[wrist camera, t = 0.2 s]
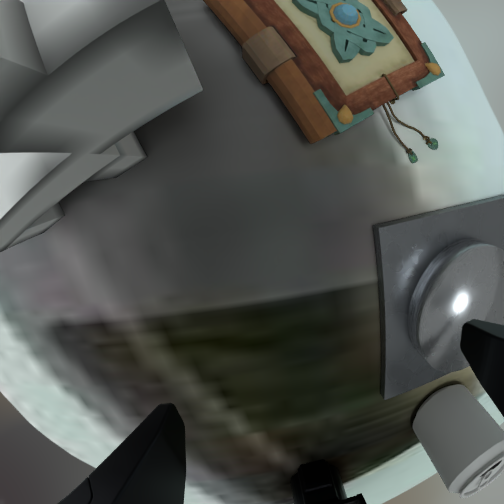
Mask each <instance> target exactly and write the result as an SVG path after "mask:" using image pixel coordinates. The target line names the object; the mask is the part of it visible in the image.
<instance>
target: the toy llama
mask: <svg viewBox="0 0 504 504" xmlns="http://www.w3.org/2000/svg"><path fill="white" fill-rule="evenodd" d="M201 91H203V88H202V86H201V84H200V81H199V79H198V77H197V74H196V72H195V70H194V67H193V65H192V63H191V60H190V58H189V56H188V53H187V51H186V49H185V46H184V44H183V42H182V39H181V37H180V35H179V33H178V30H177V28H176V26H175V23H174V21H173V19H172V17H171V14H170V12H169V10H168V7H167V5H166V3H165V1H164V0H0V252H2V251H4V250H6V249H8V248H10V247H12V246H14V245H17V244H19V243H21V242H23V241H26V240H28V239H30V238H32V237H35V236H37V235H39V234H42V233H44V232H45V231H46V230H48V229H49V228H50V227H51V226H52V225H54V224H55V223H56V222H57V221H59V220H60V219H61V218H62V217H64V216H65V214H64V212H63V210H62V208H61V206H60V205H59V203H58V202H59V201H60V200H61V199H62V198H64V197H65V196H66V195H67V194H69V193H70V192H71V191H72V190H74V189H75V188H76V187H77V186H79V185H80V184H81V183H83V182H87V181H94V180H101V179H108V178H116V177H118V176H119V175H121V174H122V173H124V172H125V171H127V170H128V169H130V168H131V167H133V166H134V165H136V164H138V163H139V162H141V161H142V160H144V159H145V158H147V156H146V154H145V152H144V150H143V148H142V147H141V145H140V143H139V141H138V139H137V137H136V135H135V133H134V132H133V131H135V130H136V129H138V128H139V127H141V126H142V125H144V124H145V123H147V122H149V121H150V120H152V119H154V118H155V117H157V116H158V115H160V114H162V113H163V112H165V111H167V110H169V109H170V108H172V107H174V106H175V105H177V104H179V103H181V102H183V101H184V100H186V99H188V98H190V97H192V96H193V95H195V94H197V93H199V92H201Z"/></svg>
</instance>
